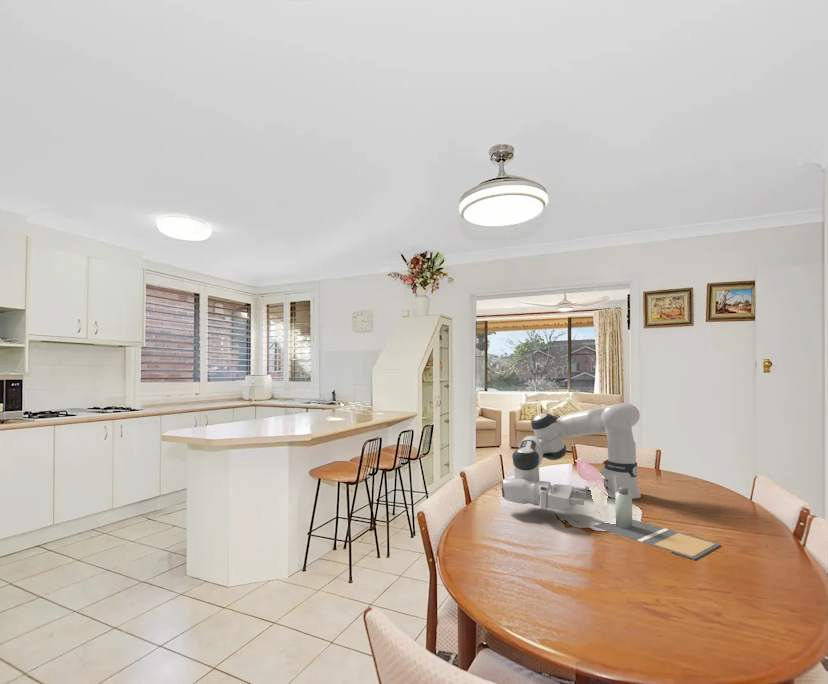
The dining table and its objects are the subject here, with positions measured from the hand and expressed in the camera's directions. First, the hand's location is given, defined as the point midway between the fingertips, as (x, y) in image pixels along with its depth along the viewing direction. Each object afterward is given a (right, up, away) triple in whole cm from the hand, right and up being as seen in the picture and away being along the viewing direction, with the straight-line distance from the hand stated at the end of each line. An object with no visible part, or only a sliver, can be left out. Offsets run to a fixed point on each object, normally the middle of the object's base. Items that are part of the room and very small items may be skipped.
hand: (585, 498), depth 162 cm
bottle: (+11, -8, -5) cm, 15 cm away
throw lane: (+17, -8, -13) cm, 23 cm away
